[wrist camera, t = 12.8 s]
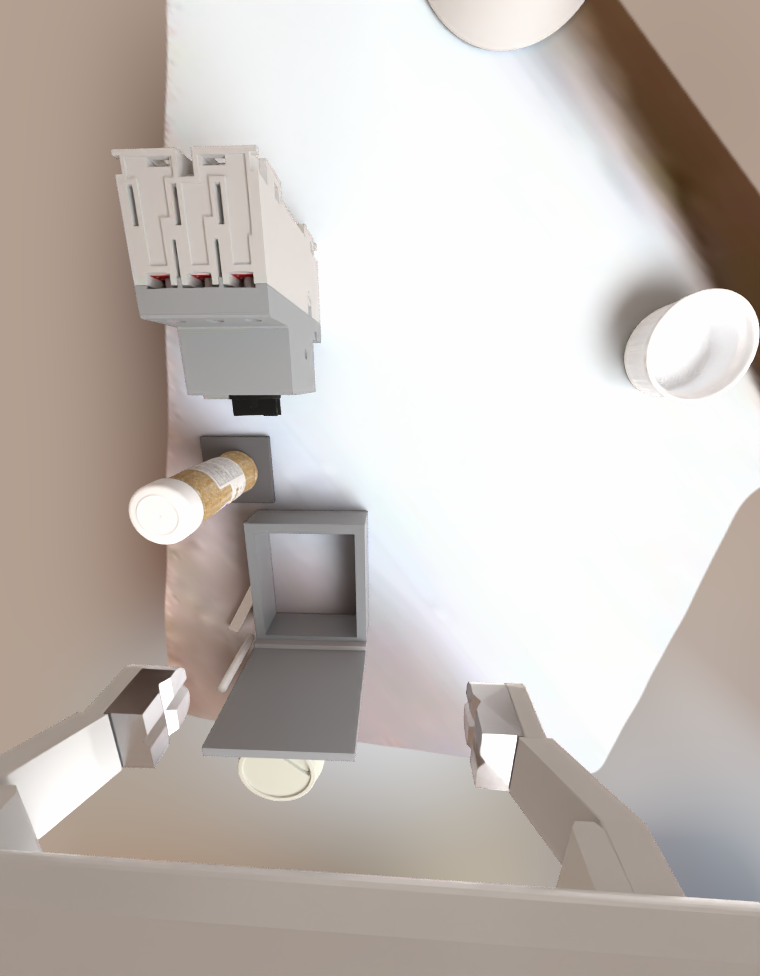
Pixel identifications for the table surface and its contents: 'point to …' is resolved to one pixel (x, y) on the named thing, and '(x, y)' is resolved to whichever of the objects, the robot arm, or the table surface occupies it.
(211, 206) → the circuit breaker
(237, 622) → the rod
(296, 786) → the coffee cup
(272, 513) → the case
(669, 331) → the ramekin
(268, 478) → the pad
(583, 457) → the table surface
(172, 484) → the sprinkles bottle
